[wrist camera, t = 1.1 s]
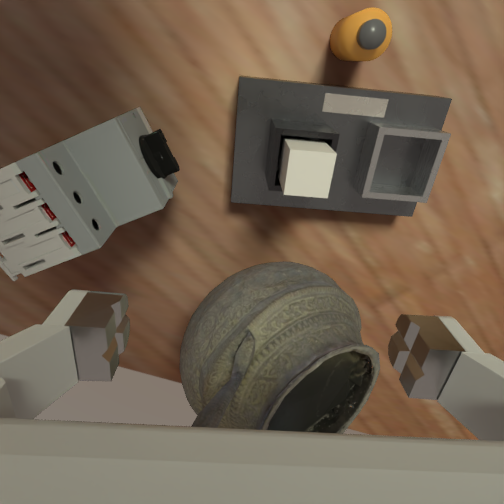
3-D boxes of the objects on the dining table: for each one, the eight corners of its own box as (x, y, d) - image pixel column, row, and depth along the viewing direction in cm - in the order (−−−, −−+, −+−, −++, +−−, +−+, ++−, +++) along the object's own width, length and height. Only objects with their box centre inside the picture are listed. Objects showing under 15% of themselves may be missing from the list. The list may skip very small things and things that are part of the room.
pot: (165, 317, 48) (101, 532, 26) (247, 199, 40) (254, 366, 18) (284, 374, 54) (314, 588, 32) (377, 281, 46) (499, 480, 24)
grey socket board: (239, 75, 34) (239, 79, 27) (436, 95, 35) (484, 104, 28) (231, 192, 40) (229, 221, 33) (401, 206, 41) (433, 236, 34)
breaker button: (283, 136, 31) (290, 149, 26) (323, 140, 31) (336, 153, 27) (278, 176, 32) (283, 194, 28) (316, 179, 33) (327, 198, 28)
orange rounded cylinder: (334, 14, 32) (355, 3, 26) (372, 18, 32) (403, 8, 26) (326, 58, 34) (345, 58, 28) (362, 62, 34) (389, 63, 28)
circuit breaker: (197, 165, 38) (174, 219, 25) (85, 210, 40) (10, 282, 27) (164, 95, 35) (118, 116, 22) (44, 148, 37) (-64, 197, 24)
